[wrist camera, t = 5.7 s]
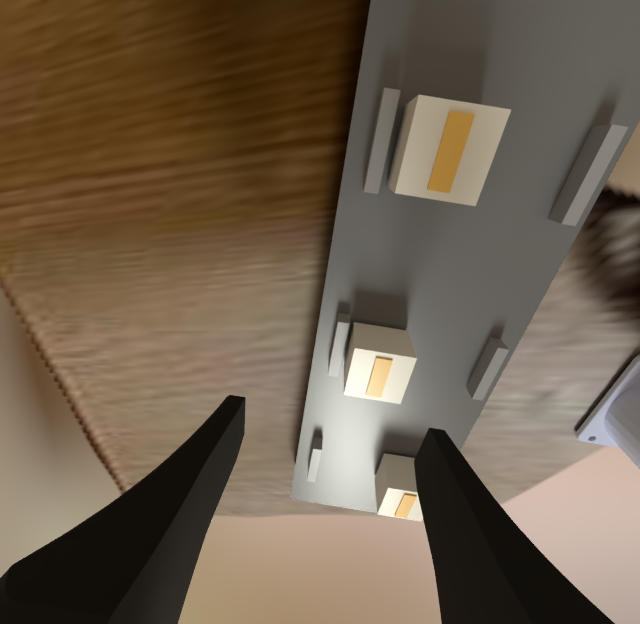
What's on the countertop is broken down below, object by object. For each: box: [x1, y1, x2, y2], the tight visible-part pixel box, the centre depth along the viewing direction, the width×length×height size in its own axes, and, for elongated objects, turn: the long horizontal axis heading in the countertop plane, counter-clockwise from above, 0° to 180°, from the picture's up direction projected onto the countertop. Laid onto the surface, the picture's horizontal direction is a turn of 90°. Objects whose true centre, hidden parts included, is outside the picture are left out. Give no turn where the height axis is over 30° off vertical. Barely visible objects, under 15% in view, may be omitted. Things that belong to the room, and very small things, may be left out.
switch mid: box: [344, 322, 417, 404], centre depth 16 cm, size 3×3×3 cm
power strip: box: [290, 0, 640, 513], centre depth 19 cm, size 11×32×4 cm, turn 172°
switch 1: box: [374, 453, 423, 521], centre depth 21 cm, size 3×3×3 cm
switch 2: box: [387, 95, 511, 206], centre depth 12 cm, size 3×3×3 cm
